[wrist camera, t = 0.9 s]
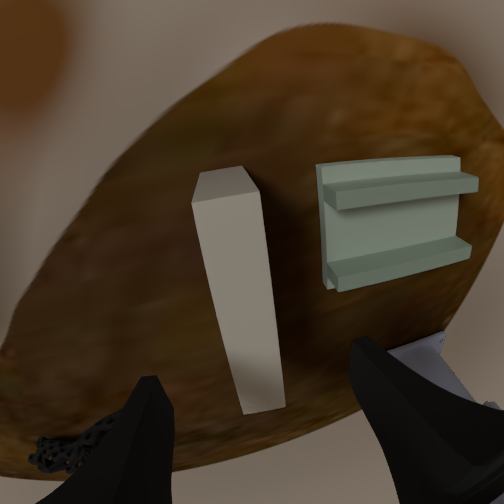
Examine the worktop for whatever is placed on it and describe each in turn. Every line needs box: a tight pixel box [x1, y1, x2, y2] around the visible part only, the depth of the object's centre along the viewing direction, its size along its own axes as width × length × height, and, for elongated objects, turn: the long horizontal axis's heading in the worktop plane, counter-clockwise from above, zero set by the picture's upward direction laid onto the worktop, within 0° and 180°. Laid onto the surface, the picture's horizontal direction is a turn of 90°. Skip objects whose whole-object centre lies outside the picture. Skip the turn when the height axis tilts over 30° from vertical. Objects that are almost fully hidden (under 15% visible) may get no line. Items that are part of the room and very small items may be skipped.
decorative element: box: [28, 409, 122, 474], centre depth 23 cm, size 22×5×6 cm, turn 124°
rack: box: [316, 155, 479, 292], centre depth 18 cm, size 8×11×3 cm
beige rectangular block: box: [192, 166, 286, 414], centre depth 16 cm, size 12×2×7 cm, turn 7°
